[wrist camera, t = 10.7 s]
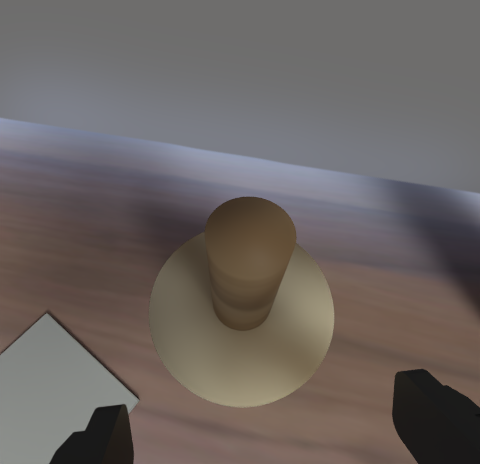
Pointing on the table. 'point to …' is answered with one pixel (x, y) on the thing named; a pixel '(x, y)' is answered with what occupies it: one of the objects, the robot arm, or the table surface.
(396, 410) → the robot arm
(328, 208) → the table surface
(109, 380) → the coaster
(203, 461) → the table surface
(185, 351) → the lid
